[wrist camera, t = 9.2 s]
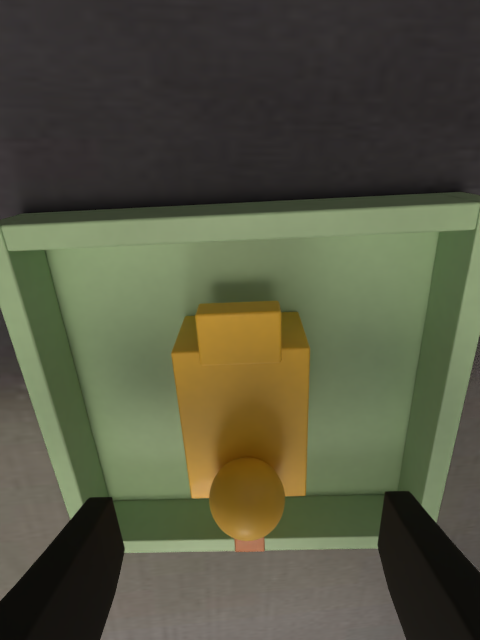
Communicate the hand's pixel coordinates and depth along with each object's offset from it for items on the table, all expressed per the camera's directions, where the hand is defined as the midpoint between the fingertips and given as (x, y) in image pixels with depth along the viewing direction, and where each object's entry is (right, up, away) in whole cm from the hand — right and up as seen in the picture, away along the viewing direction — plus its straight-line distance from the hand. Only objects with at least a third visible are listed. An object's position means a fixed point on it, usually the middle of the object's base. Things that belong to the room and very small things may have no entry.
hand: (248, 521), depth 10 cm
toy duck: (0, +3, +6) cm, 6 cm away
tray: (0, +3, +6) cm, 7 cm away
